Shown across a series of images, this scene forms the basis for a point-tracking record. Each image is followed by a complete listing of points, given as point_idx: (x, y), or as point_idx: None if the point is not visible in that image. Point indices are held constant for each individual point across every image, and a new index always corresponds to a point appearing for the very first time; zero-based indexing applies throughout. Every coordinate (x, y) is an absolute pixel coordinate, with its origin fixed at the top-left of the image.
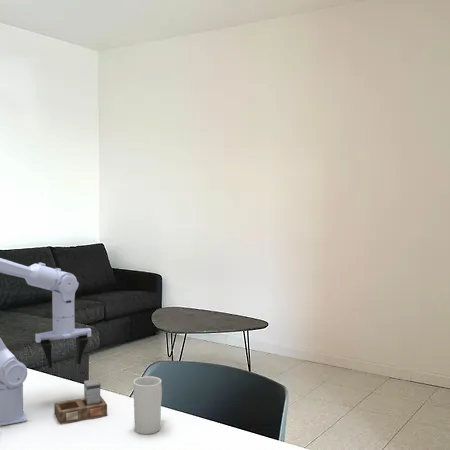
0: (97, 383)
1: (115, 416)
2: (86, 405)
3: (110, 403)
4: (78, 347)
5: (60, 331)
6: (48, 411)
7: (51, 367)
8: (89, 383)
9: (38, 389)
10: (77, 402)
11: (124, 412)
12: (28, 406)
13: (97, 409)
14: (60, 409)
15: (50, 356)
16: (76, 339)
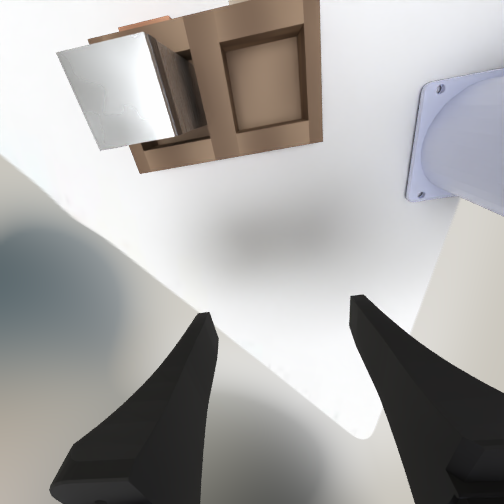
0: (74, 48)
1: (79, 30)
2: (189, 81)
3: (123, 179)
4: (181, 407)
5: None
6: (328, 168)
7: (352, 296)
8: (132, 69)
9: (328, 328)
10: (228, 114)
11: (51, 68)
12: (378, 227)
13: (137, 24)
14: (308, 34)
15: (392, 343)
16: (190, 495)
